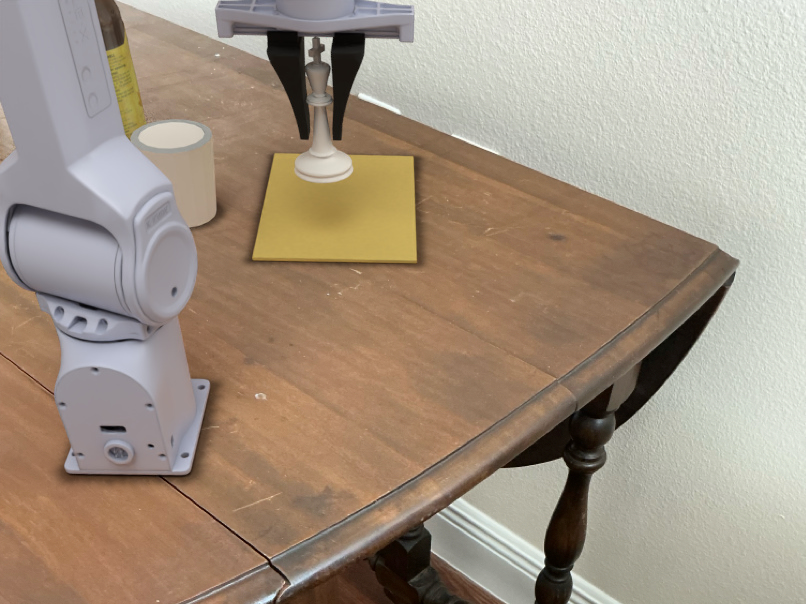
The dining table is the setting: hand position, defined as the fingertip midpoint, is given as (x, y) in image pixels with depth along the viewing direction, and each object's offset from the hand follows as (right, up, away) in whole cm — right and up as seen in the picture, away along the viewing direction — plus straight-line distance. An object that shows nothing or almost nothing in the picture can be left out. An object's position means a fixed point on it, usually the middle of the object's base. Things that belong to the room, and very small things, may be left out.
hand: (321, 135), depth 69 cm
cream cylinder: (-13, -3, +8) cm, 16 cm away
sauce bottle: (-21, +4, +15) cm, 26 cm away
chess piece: (0, -2, +2) cm, 3 cm away
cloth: (+1, -2, +10) cm, 10 cm away
